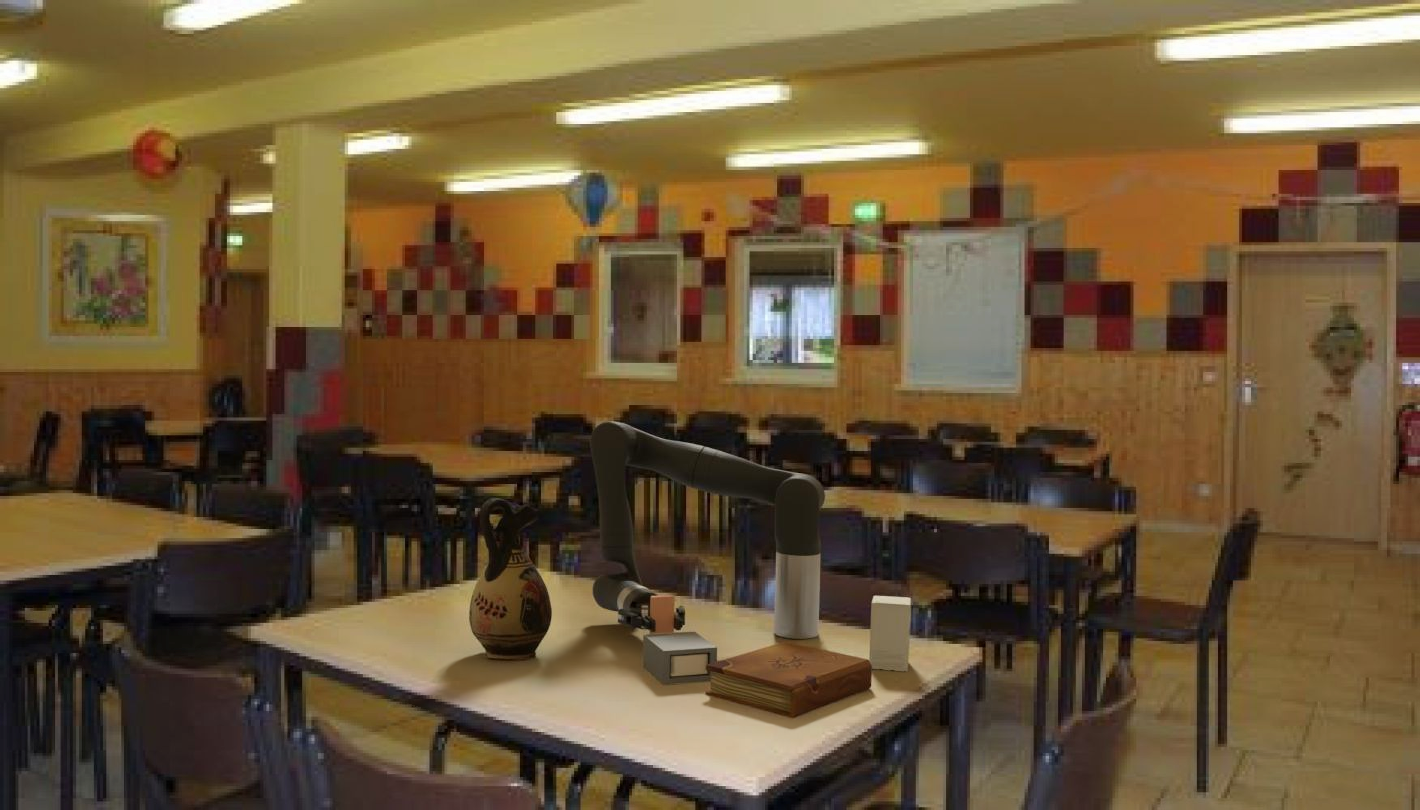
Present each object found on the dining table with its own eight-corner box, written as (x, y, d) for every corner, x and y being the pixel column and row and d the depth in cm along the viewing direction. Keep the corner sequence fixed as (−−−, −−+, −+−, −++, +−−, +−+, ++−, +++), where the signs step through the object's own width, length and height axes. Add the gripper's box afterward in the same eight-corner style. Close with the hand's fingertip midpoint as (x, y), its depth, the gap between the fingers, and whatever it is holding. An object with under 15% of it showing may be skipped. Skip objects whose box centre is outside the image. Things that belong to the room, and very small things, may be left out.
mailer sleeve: (693, 663, 218) (694, 631, 218) (716, 680, 207) (717, 647, 206) (642, 667, 215) (643, 634, 214) (662, 685, 203) (663, 651, 203)
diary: (794, 722, 187) (795, 687, 186) (705, 698, 199) (705, 665, 198) (871, 691, 204) (872, 659, 204) (785, 671, 216) (785, 640, 216)
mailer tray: (683, 654, 223) (684, 594, 222) (713, 678, 207) (715, 613, 206) (636, 657, 219) (638, 596, 219) (664, 682, 204) (665, 616, 203)
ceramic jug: (519, 640, 232) (522, 490, 230) (567, 656, 221) (570, 499, 219) (445, 654, 220) (447, 496, 219) (491, 671, 209) (494, 505, 208)
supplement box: (908, 672, 216) (910, 605, 215) (868, 669, 217) (870, 602, 217) (909, 662, 223) (911, 596, 222) (870, 659, 224) (872, 594, 224)
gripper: (606, 589, 231) (630, 607, 215) (674, 586, 236) (703, 604, 220) (605, 626, 231) (629, 648, 215) (673, 622, 236) (702, 643, 220)
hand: (666, 625), depth 218 cm, fingers closed on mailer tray, 4 cm apart
